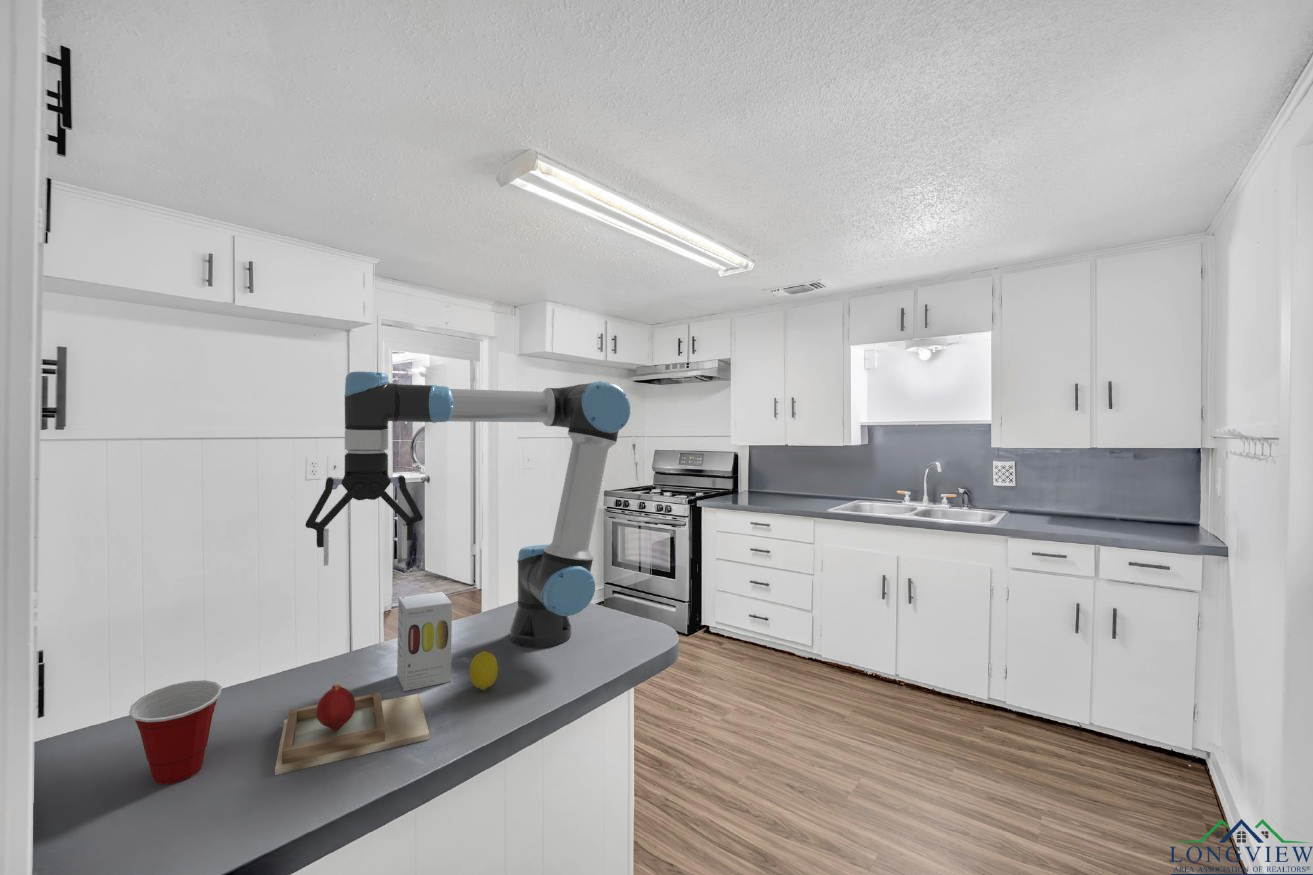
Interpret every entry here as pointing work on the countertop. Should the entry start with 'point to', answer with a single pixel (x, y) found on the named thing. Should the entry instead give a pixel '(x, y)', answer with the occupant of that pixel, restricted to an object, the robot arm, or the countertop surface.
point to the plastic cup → (176, 728)
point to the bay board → (350, 732)
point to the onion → (335, 707)
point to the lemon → (483, 670)
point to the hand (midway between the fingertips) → (366, 560)
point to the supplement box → (424, 640)
